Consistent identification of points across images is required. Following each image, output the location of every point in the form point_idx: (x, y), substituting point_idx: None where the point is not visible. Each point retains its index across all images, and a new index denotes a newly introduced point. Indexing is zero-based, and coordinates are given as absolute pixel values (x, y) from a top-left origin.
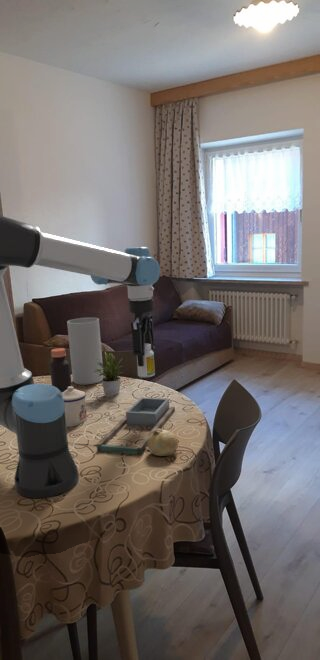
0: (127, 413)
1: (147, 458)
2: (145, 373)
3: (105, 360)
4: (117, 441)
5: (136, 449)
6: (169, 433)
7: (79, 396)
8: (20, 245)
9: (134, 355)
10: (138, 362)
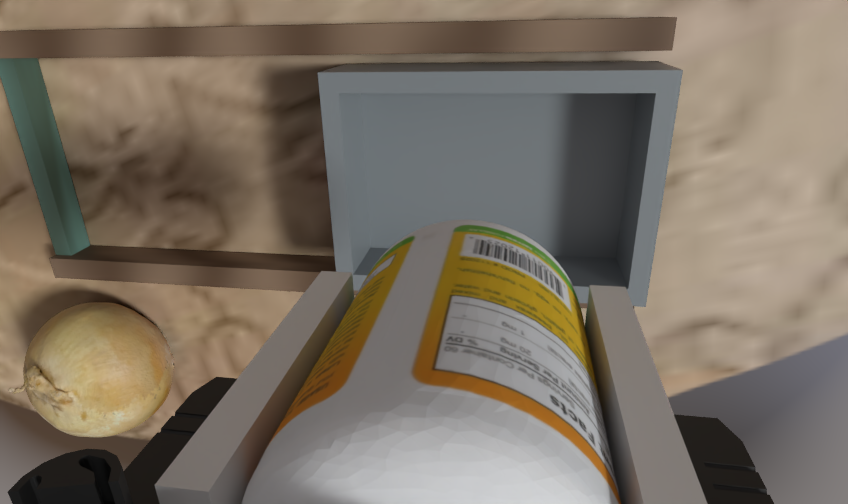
0: (322, 84)
1: (65, 294)
2: None
3: None
4: (150, 92)
5: (55, 251)
6: (69, 431)
7: None
8: None
9: (85, 461)
10: (169, 429)
